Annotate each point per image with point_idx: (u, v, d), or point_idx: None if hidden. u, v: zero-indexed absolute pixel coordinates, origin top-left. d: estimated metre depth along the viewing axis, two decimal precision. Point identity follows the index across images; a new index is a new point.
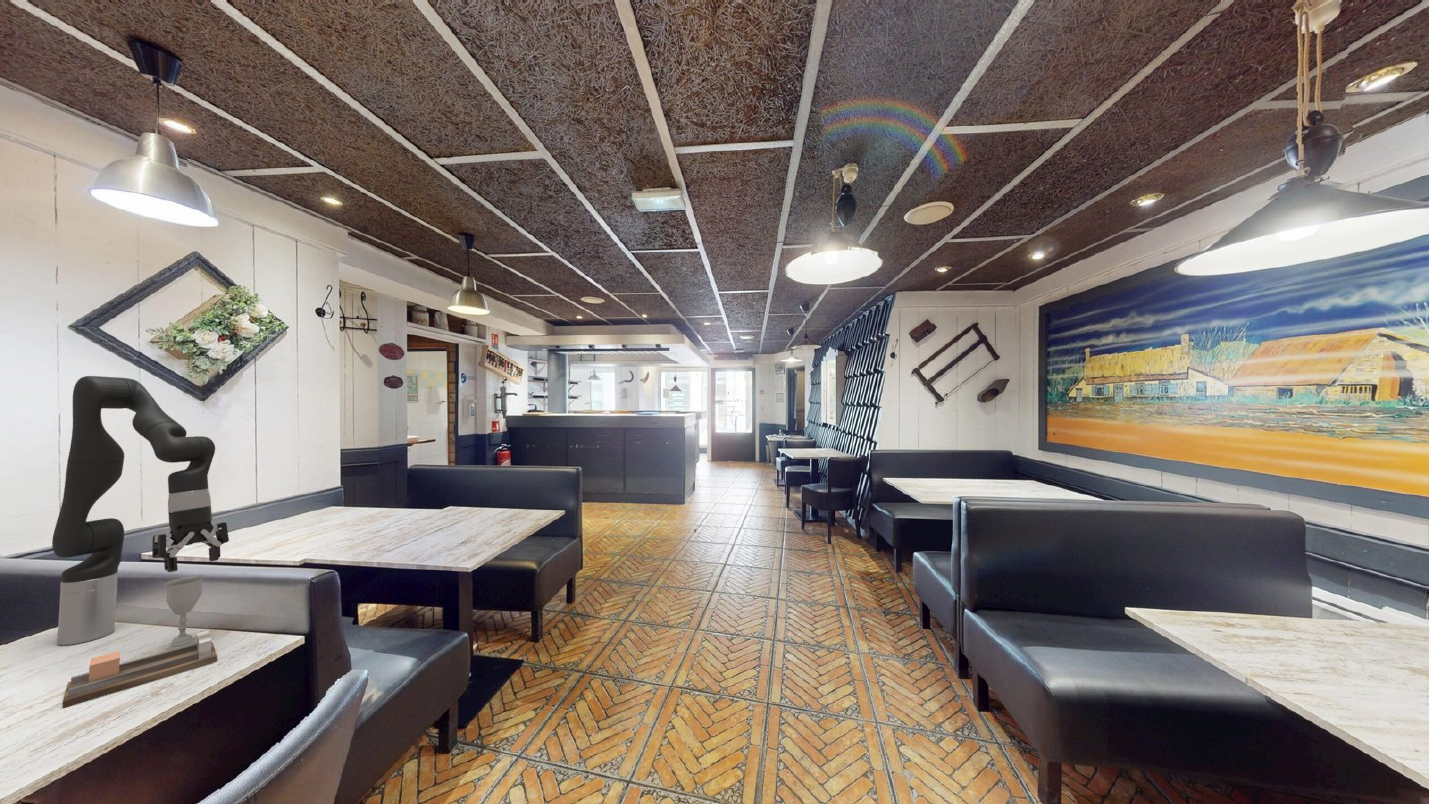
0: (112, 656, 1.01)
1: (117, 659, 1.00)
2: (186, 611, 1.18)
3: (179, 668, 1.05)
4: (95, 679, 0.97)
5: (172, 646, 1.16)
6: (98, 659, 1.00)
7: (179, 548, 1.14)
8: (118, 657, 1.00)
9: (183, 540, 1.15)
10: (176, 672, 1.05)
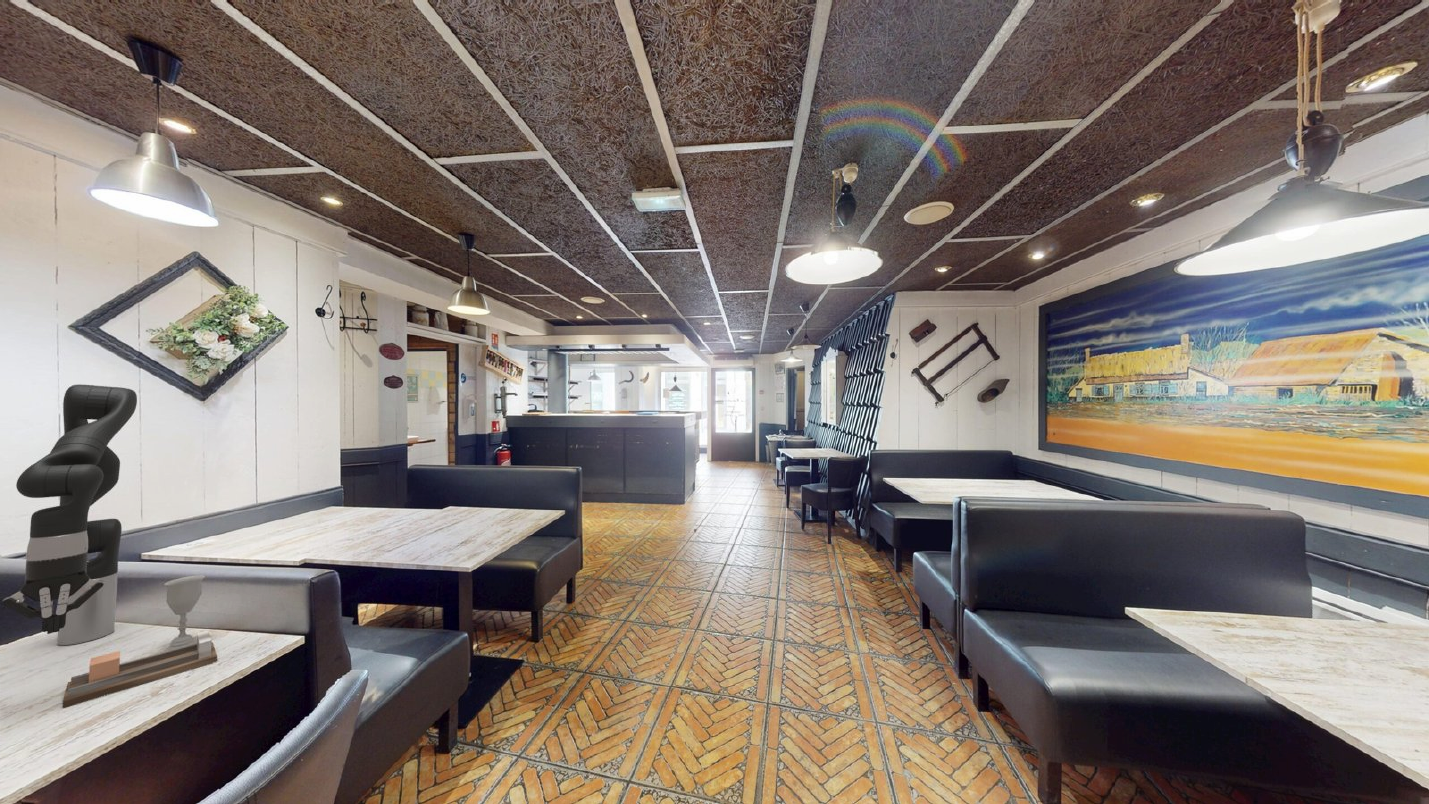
0: (112, 656, 1.01)
1: (117, 659, 1.00)
2: (186, 611, 1.18)
3: (179, 668, 1.05)
4: (95, 679, 0.97)
5: (172, 646, 1.16)
6: (98, 659, 1.00)
7: (47, 606, 0.93)
8: (118, 657, 1.00)
9: (41, 599, 0.93)
10: (176, 672, 1.05)
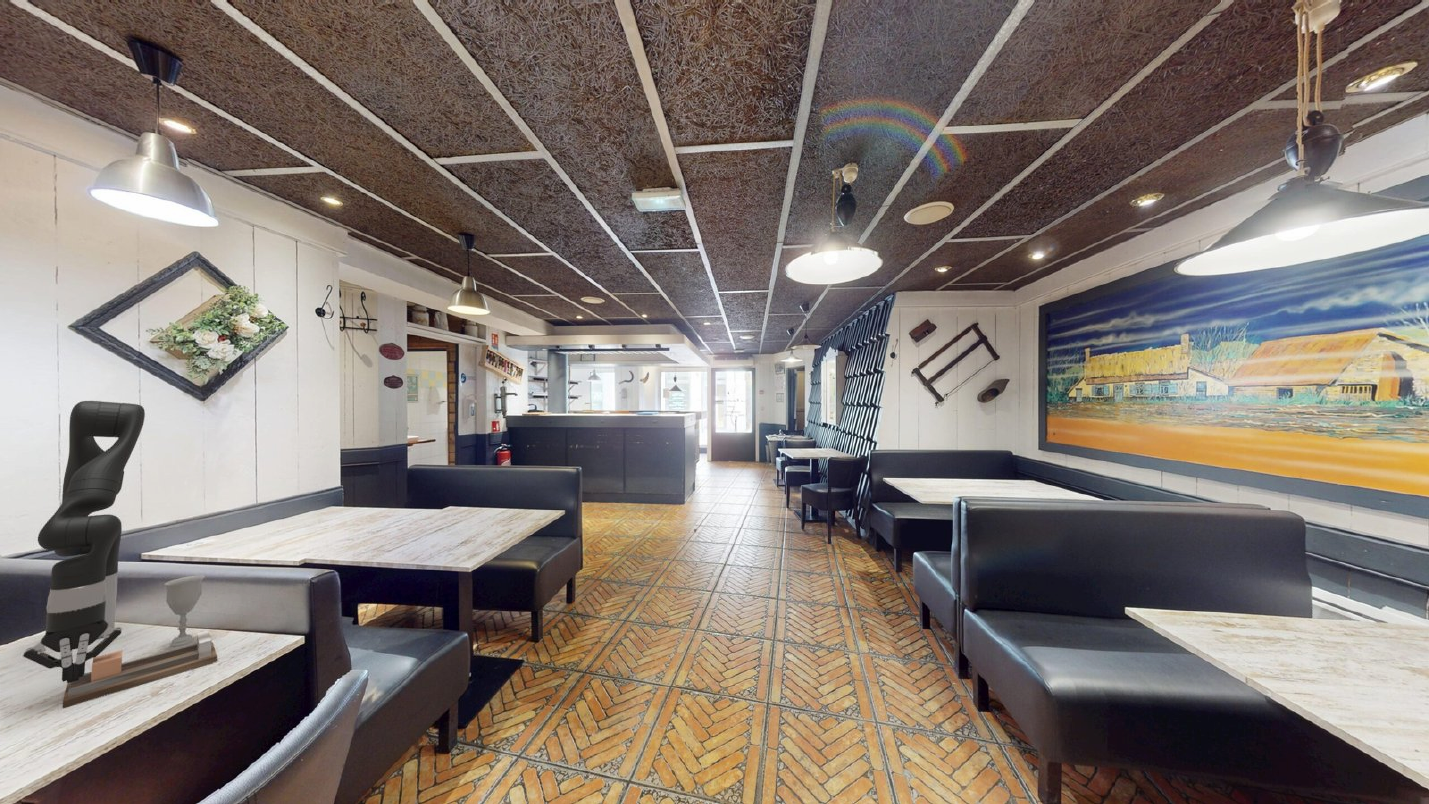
0: (114, 656, 1.01)
1: (119, 658, 1.00)
2: (186, 611, 1.18)
3: (179, 668, 1.05)
4: (97, 678, 0.98)
5: (172, 646, 1.16)
6: (100, 658, 1.00)
7: (67, 656, 0.95)
8: (120, 656, 1.01)
9: (62, 649, 0.95)
10: (176, 672, 1.05)
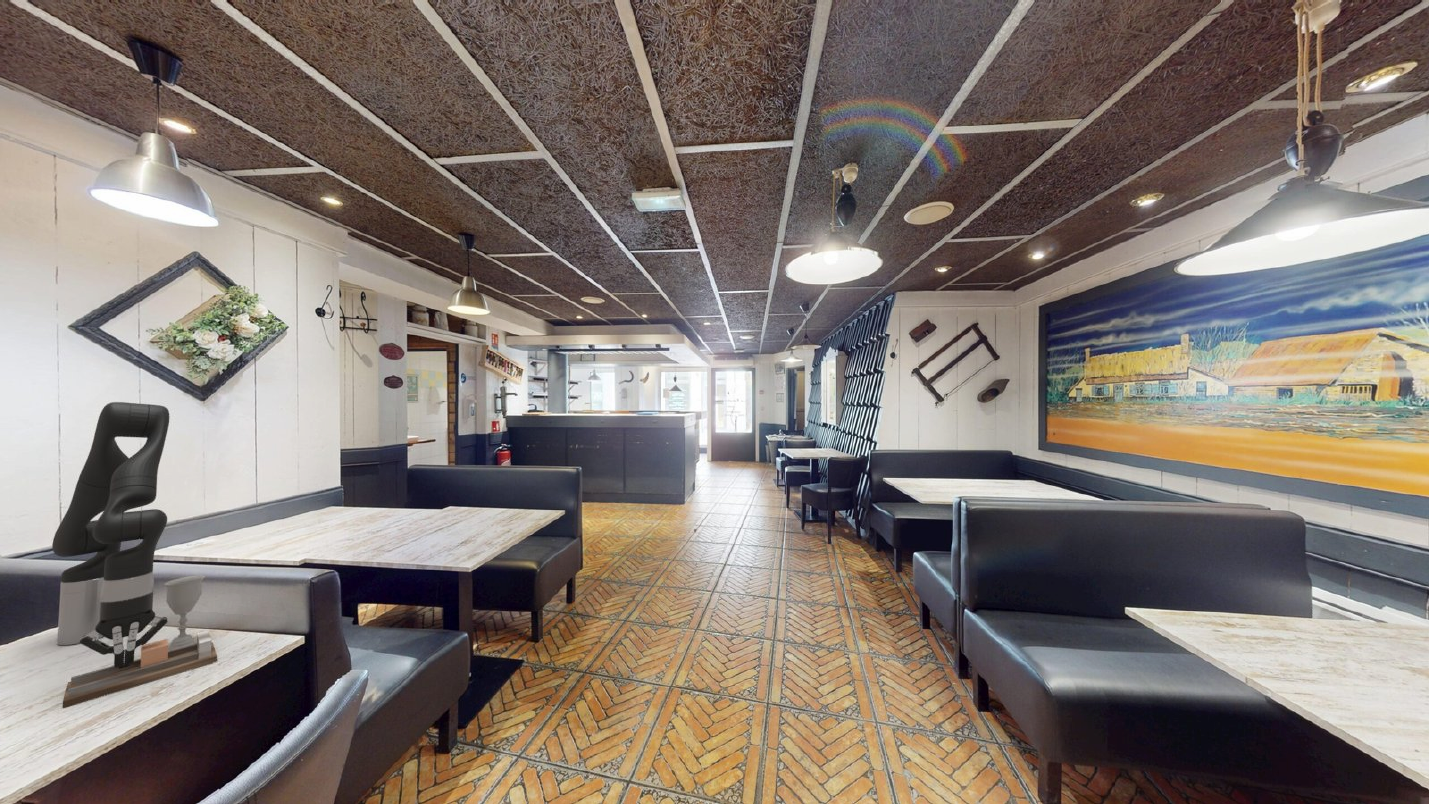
0: (161, 644, 1.06)
1: (166, 646, 1.06)
2: (186, 611, 1.18)
3: (179, 668, 1.05)
4: (146, 665, 1.03)
5: (172, 646, 1.16)
6: (148, 646, 1.05)
7: (119, 643, 1.01)
8: (167, 644, 1.06)
9: (114, 637, 1.00)
10: (176, 672, 1.05)
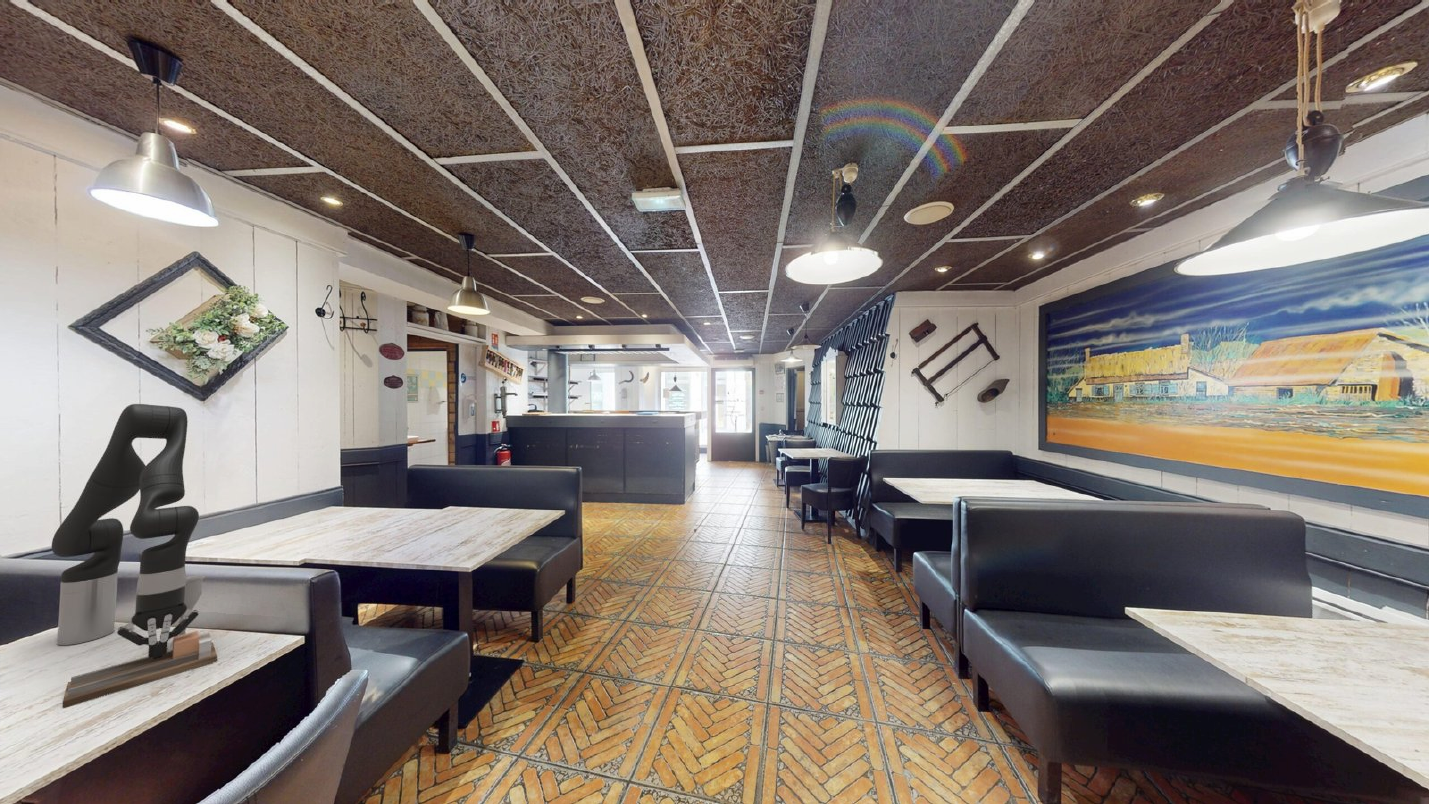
0: (192, 635, 1.10)
1: (197, 638, 1.10)
2: None
3: (179, 668, 1.05)
4: (179, 655, 1.07)
5: (172, 646, 1.16)
6: (180, 637, 1.09)
7: (153, 635, 1.05)
8: (198, 636, 1.10)
9: (149, 628, 1.04)
10: (176, 672, 1.05)
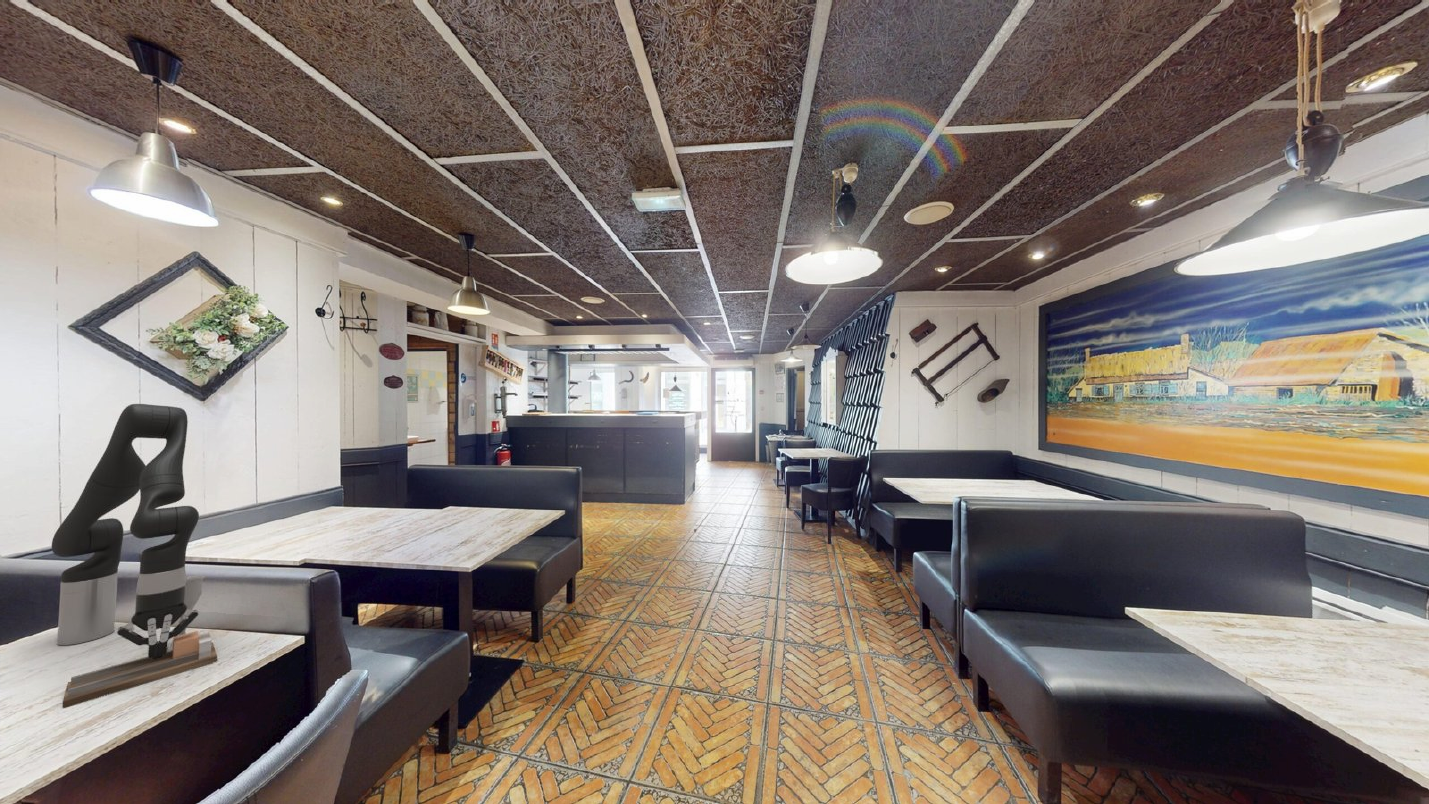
0: (192, 635, 1.10)
1: (197, 638, 1.10)
2: None
3: (179, 668, 1.05)
4: (179, 655, 1.07)
5: (172, 646, 1.16)
6: (180, 637, 1.09)
7: (153, 635, 1.05)
8: (198, 636, 1.10)
9: (149, 628, 1.04)
10: (176, 672, 1.05)
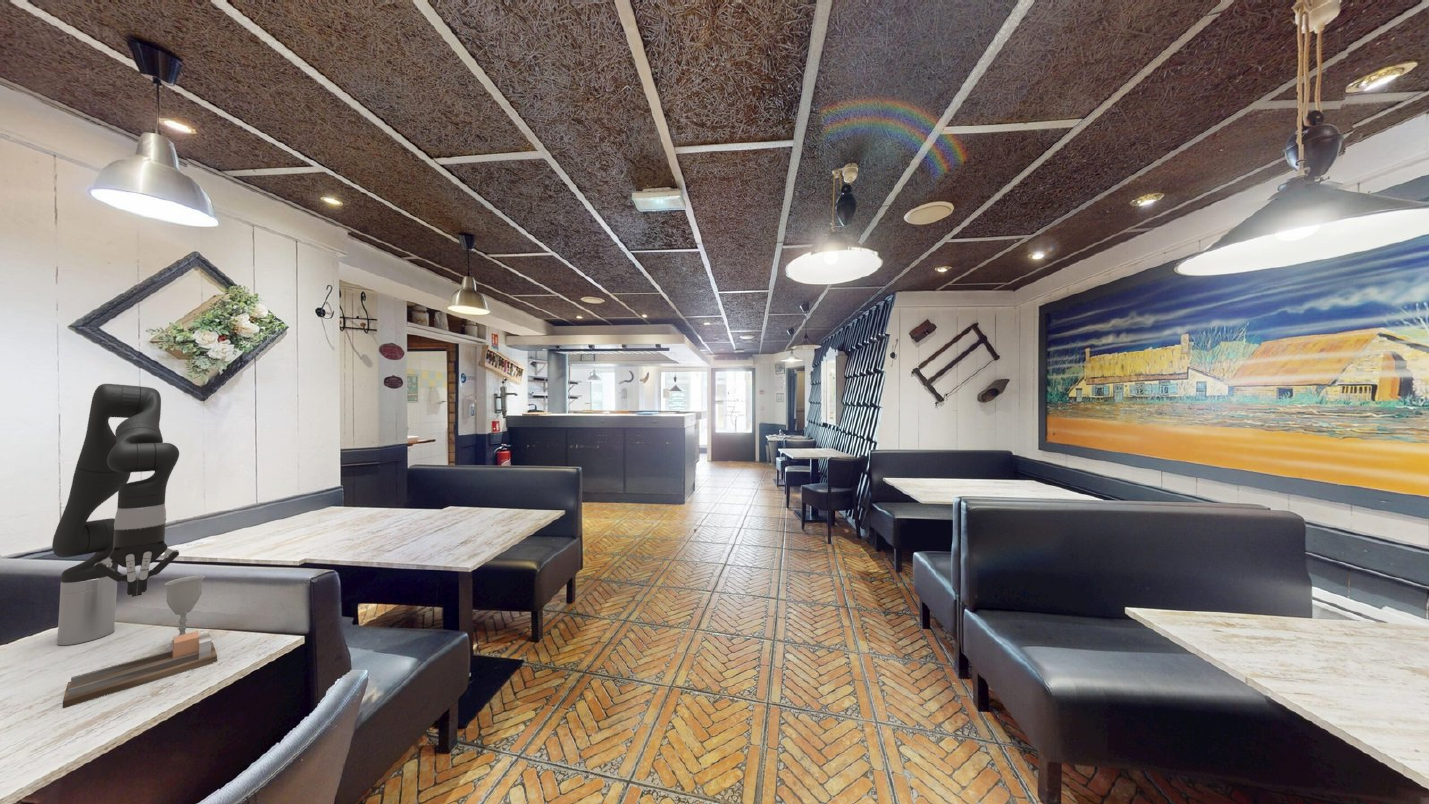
0: (192, 635, 1.10)
1: (197, 638, 1.10)
2: (186, 611, 1.18)
3: (179, 668, 1.05)
4: (179, 655, 1.07)
5: (172, 646, 1.16)
6: (180, 637, 1.09)
7: (132, 571, 1.02)
8: (198, 636, 1.10)
9: (127, 564, 1.02)
10: (176, 672, 1.05)
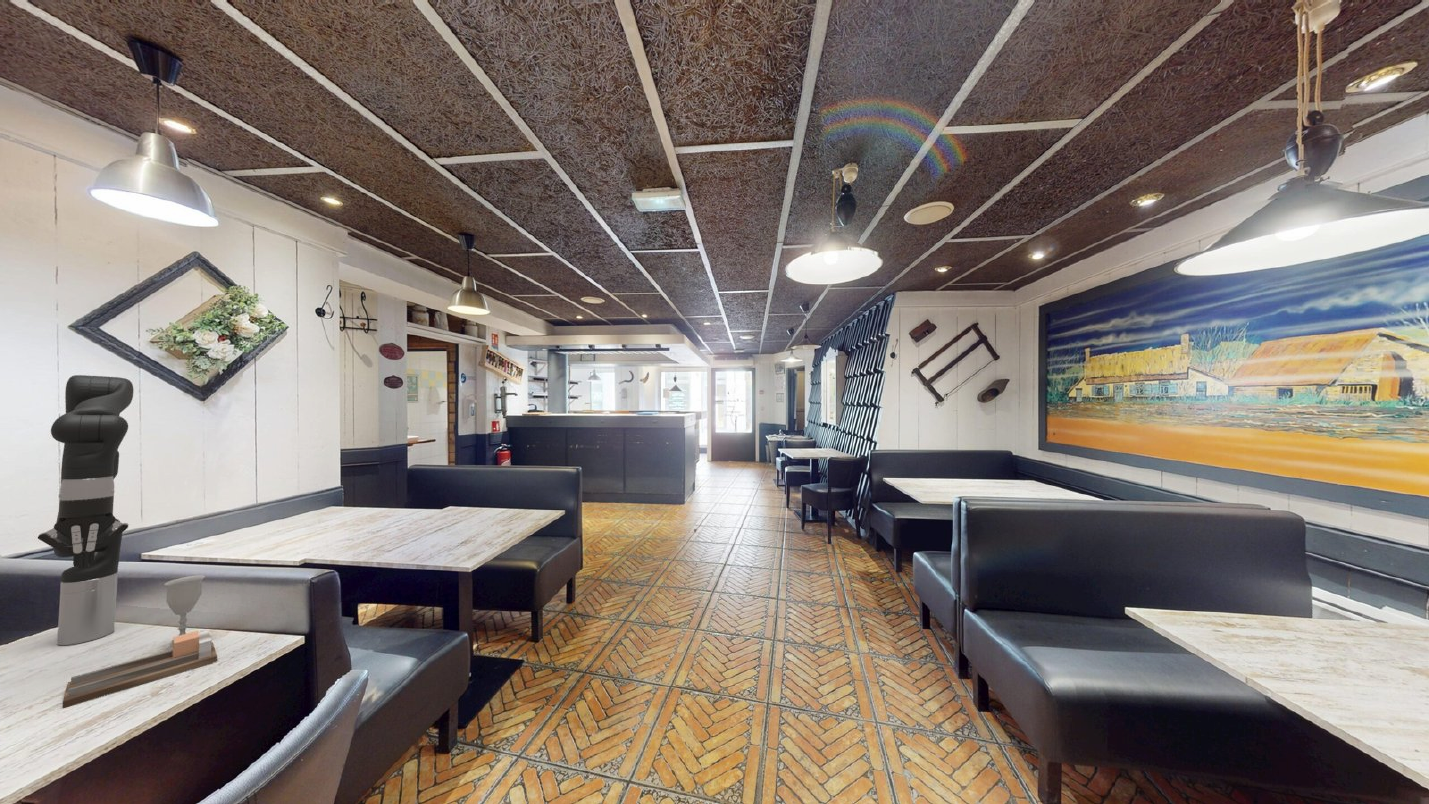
0: (192, 635, 1.10)
1: (197, 638, 1.10)
2: (186, 611, 1.18)
3: (179, 668, 1.05)
4: (179, 655, 1.07)
5: (172, 646, 1.16)
6: (180, 637, 1.09)
7: (78, 543, 1.02)
8: (198, 636, 1.10)
9: (73, 536, 1.01)
10: (176, 672, 1.05)
